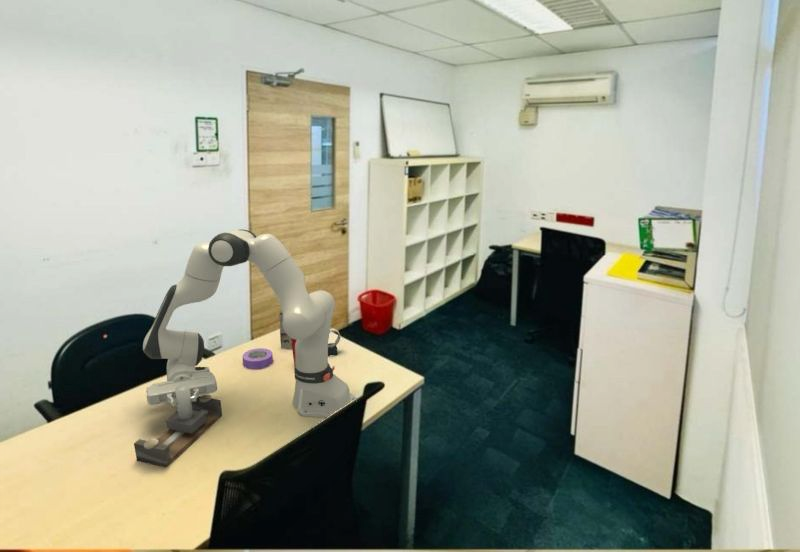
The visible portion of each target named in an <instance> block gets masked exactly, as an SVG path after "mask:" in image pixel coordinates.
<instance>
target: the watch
mask: <svg viewBox="0 0 800 552" xmlns="http://www.w3.org/2000/svg"><path fill="white" fill-rule="evenodd" d="M330 332H336V333H337V338H336V339H335V341H334V342H331V343H329V342H328V357H331V356H330V355H334V356H338V347H337V346H338V344H339V343H340V341H341V334H340V332H339V330H338V329H336V328H333V327H331V328H330Z"/></svg>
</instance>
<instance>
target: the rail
mask: <svg viewBox="0 0 800 552" xmlns="http://www.w3.org/2000/svg"><path fill="white" fill-rule="evenodd" d="M191 403H192V410H196V411H201V412H206V420H207V421H206V422H204V423H203V424H202V425H201V426H200V427H199V428H198V429H197V430H196V431H195V432H193V433H192V434H190V433H186V432H181V431H177V430H172V429H167V430H166V431H165V432H164V433H162V434H161V435H160V436H159V437H157V438H150V439H148V440H146V439H141V438H138V439H137V440H136V441H135V442H134V443H133V445H134V446H133V447H134V452H135V458H136V461H137V462H139V463H143V464H148V465H151V466H152V465H153V466H157V467H159V468H164V469H167V468H168V467H170V465H171V464H173V463H174V462H175V461H176V460H177V459H178V458H179V457H180V456H181V455H182V454H183V453H184V452H186V450H187V449H188V448H190V447H191V446H192V444H194V443H195V442H196V441H197V440H198V439H199V438H200V437H201V436H202V435H204V433H206V431H208V430H209V429H210V428H211V427H212V426H213V425H214V424H215V423H216V422H217V421H218V420H219V419H220V418H222V417H223V411H222V400H221V399H218V398H217V399H216V398H212V395H211V394H203V395H199V397H198V398H197V399H196V401H195V402H191Z"/></svg>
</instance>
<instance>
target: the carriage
mask: <svg viewBox="0 0 800 552" xmlns="http://www.w3.org/2000/svg"><path fill="white" fill-rule="evenodd" d="M175 392H176V400H177V405H176V406H177V410H176V411H175V412H174V413H173V414H171V415H170V416H168V418H166V419H165V425H166V429H167V430H168V429H172V430H177V431H181V432H186V433H190V434H192V433H193V432H195V431H196V430H197V429H198V428H199V427H200V426H201V425H202V424H203V423H204V422H206V421H207V420H206V412H201V411H196V410H192V403H191V395H190V386H189V385H180V386H178V387H176V388H175Z"/></svg>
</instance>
